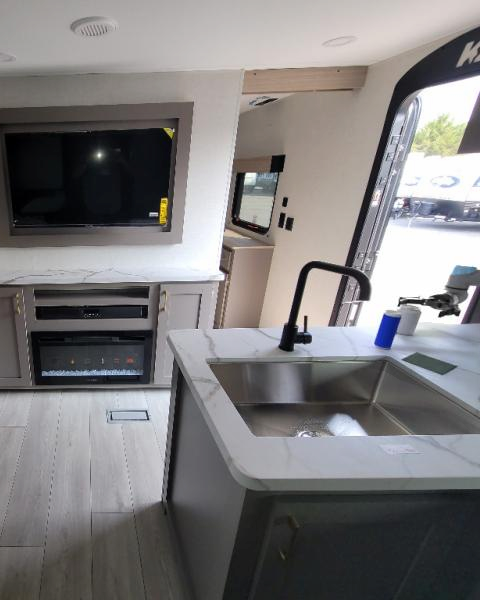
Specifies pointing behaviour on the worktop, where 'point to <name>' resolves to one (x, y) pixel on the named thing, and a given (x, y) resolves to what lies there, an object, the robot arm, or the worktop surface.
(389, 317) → the beverage can
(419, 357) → the mat
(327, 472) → the worktop surface
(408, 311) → the can
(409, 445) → the worktop surface
